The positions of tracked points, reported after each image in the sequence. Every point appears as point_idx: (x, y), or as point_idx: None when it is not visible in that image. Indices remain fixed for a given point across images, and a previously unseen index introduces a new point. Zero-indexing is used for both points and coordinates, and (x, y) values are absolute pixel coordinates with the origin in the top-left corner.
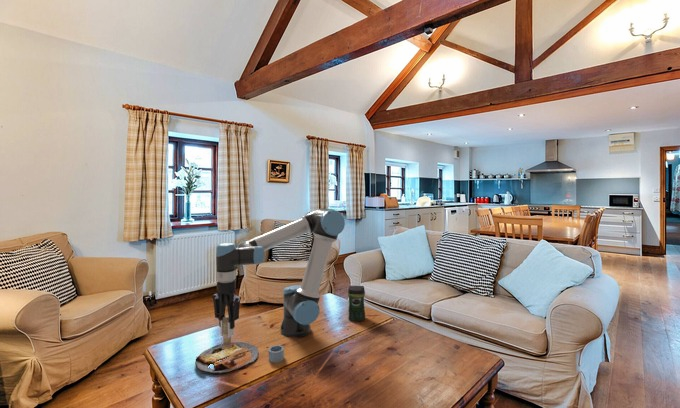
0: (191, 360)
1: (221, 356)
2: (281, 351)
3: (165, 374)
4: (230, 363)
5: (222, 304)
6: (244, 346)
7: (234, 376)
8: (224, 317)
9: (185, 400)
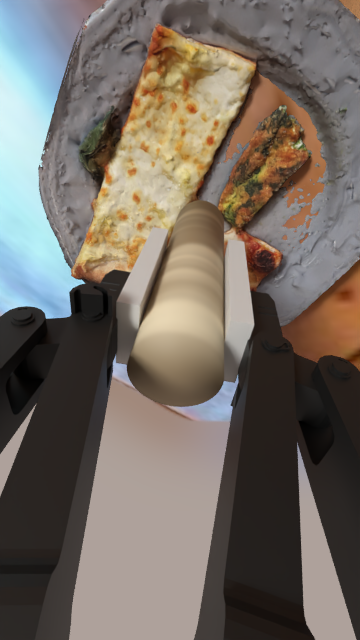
0: (37, 239)
1: (164, 198)
2: None
3: None
4: (257, 270)
5: (66, 620)
6: (255, 18)
7: (302, 317)
8: (153, 385)
9: (200, 416)
